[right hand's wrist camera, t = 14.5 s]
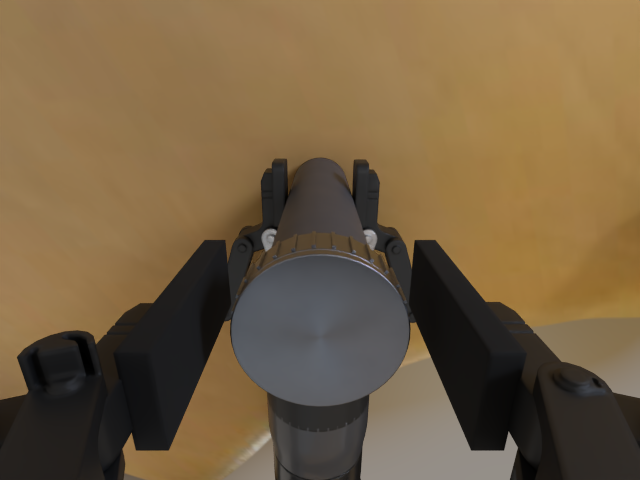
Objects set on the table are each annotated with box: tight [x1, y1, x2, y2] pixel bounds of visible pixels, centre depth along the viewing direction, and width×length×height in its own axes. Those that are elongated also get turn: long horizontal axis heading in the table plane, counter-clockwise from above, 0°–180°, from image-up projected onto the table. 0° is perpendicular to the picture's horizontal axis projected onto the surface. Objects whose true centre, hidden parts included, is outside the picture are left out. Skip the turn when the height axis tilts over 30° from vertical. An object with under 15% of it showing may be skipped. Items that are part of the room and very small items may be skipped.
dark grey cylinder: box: [272, 158, 368, 247], centre depth 20 cm, size 4×4×19 cm
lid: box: [230, 231, 410, 407], centre depth 11 cm, size 5×5×2 cm
